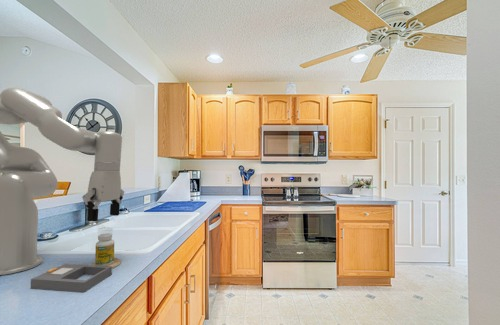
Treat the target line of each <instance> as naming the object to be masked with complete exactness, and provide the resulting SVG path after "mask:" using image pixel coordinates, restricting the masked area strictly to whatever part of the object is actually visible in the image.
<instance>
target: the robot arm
mask: <svg viewBox="0 0 500 325" xmlns="http://www.w3.org/2000/svg"><path fill="white" fill-rule="evenodd" d="M25 123H30V124H31V125H33V126H35V127H37V130H38V131H39V133H40V134H41V135H42V136H43V137H44V138H46V139H47V140H49V141H51V142H52V143H54V144H55V145H57V146H59V147H61V148H63V149H65V150H69V151H74V152H83V153H90V154H93V153H94V164H93V171H92V172H91V175H90V177H89V181H88V187H87V192H86V193H84V195H82V197H81V198H82V200H83V205H84V206H85V208H86V209H87V218H86V220H87V222H98V220H99V208H98V207H99V205H100V203H106V202H111V203H110V207H109V208H110V209H109V215H110V216H116V217H117V216H120V206H121V204H122V200H123V198H124V194H125V191H124V190H123V189H122V181H121V180H122V179H121V158H122V146H123V145H122V143H123V137H122V134H121V133H118V132H114V131H105V130H101V131H98V132H95V131H91V130H88V129H85V128H81V127H78V126H75V125H73V124H72V123H69V122H68V121H66V120H64V119H63V113H62V112H61V110H59V109H58V108H57V107H54V106H53V104H52V102H51V101H50V99H48V98H46V97H45V96H42V95H40V94H37V93H34V92H32V91H29V90H26V89H23V88H19V87H9V88H6V89H4V90H2V91H1V92H0V125H1V124H2V125H11V126H12V125H13V126H14V125H19V124H25ZM58 186H59V182H58V178H57V176H56V175H55V173H54V172H53V170H52V168H50V166H49V165H48V163H47V162H46V161H45V159H44V158H43V156H42V155H41V154H40V153H39V152H37V151H36V150H34V149H33V148H29V147H24V146H15V145H13V144H11V143H10V142H9V141H8V140H7V138H6V137H5V135H4V134H3V133H2V131H0V276H5V275H10V274H16V273H20V272H23V271H27V270H30V269H33V268H34V267H38V266H39V265H40V264H43V260H44V258H43V257H42V256H37V255H38V254H37V253H38V230H39V227H38V224H39V223H38V222H39V221H38V220H39V211H38V206H37V204H36V203H35V200H34V199H35V198H43V197H47V196H51V195H52V194H54V193H55V192H56V190H57V189H58Z"/></svg>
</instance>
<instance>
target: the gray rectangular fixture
mask: <svg viewBox="0 0 500 325" xmlns="http://www.w3.org/2000/svg"><path fill="white" fill-rule="evenodd" d="M112 270H113V268H112V266H97V265H91V264H78V263H77V264H76V263H63V264H61V265H59V266H57V267H53V268H51V269H49V270H47V271H46V272H44V273H41V274H39V275H37V276H34V277H32V278H30V289H35V290H49V291H62V292H75V293H85V292H86V291H88V290H90V289H91V288H93V287H95V286H97V285H98V284H99V283H101V282H102V281H103V280H106V279H107V278H108V277H110V276H112V273H113V271H112ZM82 276H90V277H89V278H86V279H79V278H81V277H82Z"/></svg>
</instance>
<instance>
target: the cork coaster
mask: <svg viewBox="0 0 500 325" xmlns="http://www.w3.org/2000/svg"><path fill="white" fill-rule="evenodd" d="M121 263H122V259H120V258H118V257H117V258H116V257H114V262H113V263H112V264H110V265H107V266H112V269H114V268H116V267H118V266H120V265H121ZM90 265H95V261H94V262H92V263H91V264H90Z"/></svg>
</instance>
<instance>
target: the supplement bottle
mask: <svg viewBox="0 0 500 325" xmlns="http://www.w3.org/2000/svg"><path fill="white" fill-rule="evenodd" d="M97 240H98V241H96V243H95V256H94V257H95V260H94V262H95V265H97V266H107V265H110V264H112V263H113V262H114V258H115V240H114V239H113V233H102V234H99V235H97Z"/></svg>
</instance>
